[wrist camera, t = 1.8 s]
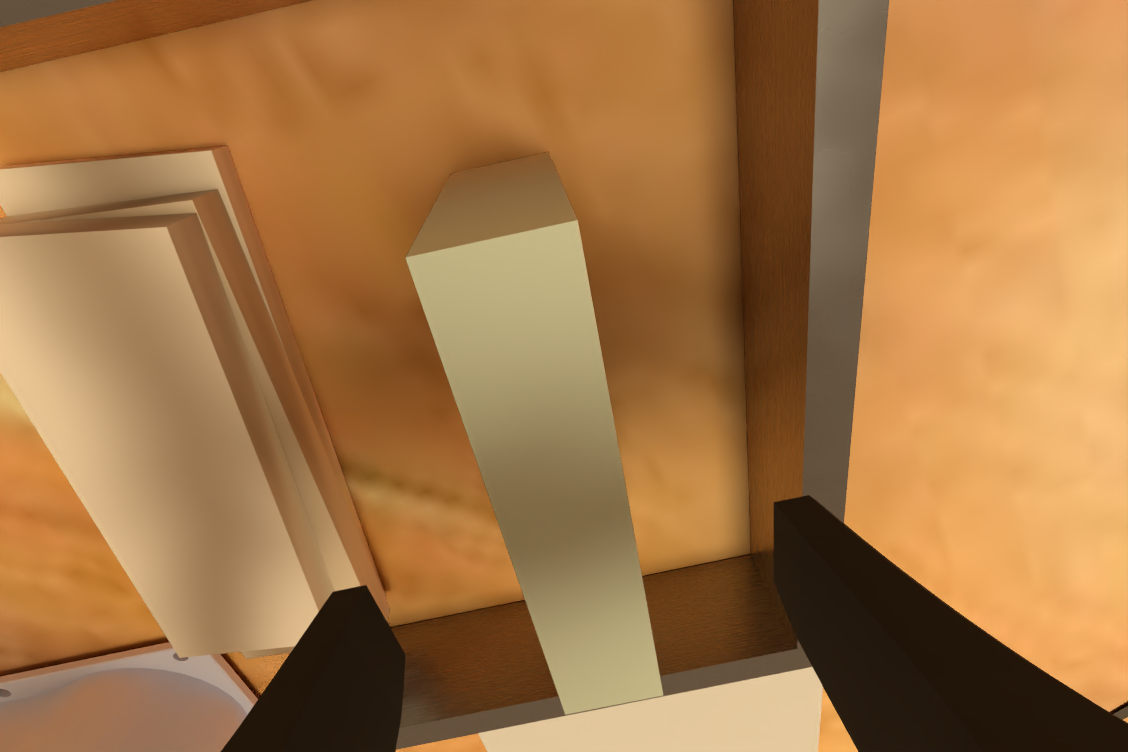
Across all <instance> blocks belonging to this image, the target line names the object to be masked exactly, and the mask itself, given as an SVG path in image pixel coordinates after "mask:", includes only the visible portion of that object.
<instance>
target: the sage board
mask: <svg viewBox="0 0 1128 752" xmlns="http://www.w3.org/2000/svg"><path fill="white" fill-rule="evenodd" d="M405 258H406V261H407V264H408V267H409V270H410V273H411V275H412V278H413V281H414V284H415V287H416V290H417V293H418V295H419V298H420V301H421V304H422V307H423V310H424V313H425V315H426V318H427V321H428V324H429V327H430V330H431V333H432V335H433V338H434V341H435V344H436V347H437V350H438V353H439V355H440V358H441V361H442V364H443V367H444V370H445V373H446V375H447V378H448V381H449V384H450V387H451V390H452V393H453V395H454V398H455V401H456V404H457V407H458V410H459V413H460V415H461V418H462V421H463V424H464V427H465V430H466V433H467V435H468V438H469V441H470V444H471V447H472V450H473V453H474V455H475V458H476V461H477V464H478V467H479V470H480V473H481V475H482V478H483V481H484V484H485V487H486V490H487V493H488V495H489V498H490V501H491V504H492V507H493V510H494V513H495V515H496V518H497V521H498V524H499V527H500V530H501V533H502V535H503V538H504V541H505V544H506V547H507V550H508V553H509V555H510V558H511V561H512V564H513V567H514V570H515V573H516V575H517V578H518V581H519V584H520V587H521V590H522V593H523V595H524V598H525V601H526V604H527V607H528V610H529V613H530V615H531V618H532V621H533V624H534V627H535V630H536V633H537V635H538V638H539V641H540V644H541V647H542V650H543V653H544V655H545V658H546V661H547V664H548V667H549V670H550V673H551V675H552V678H553V681H554V684H555V687H556V690H557V693H558V695H559V698H560V701H561V704H562V707H563V710H564V713H565V715H566V714H572V713H577V712H582V711H587V710H592V709H597V708H602V707H607V706H612V705H617V704H622V703H627V702H633V701H638V700H643V699H648V698H653V697H658V696H663V690H662V685H661V679H660V673H659V668H658V662H657V657H656V651H655V646H654V640H653V635H652V629H651V624H650V618H649V613H648V607H647V601H646V596H645V590H644V585H643V579H642V574H641V568H640V563H639V557H638V552H637V546H636V541H635V535H634V529H633V524H632V518H631V513H630V507H629V502H628V496H627V491H626V485H625V480H624V474H623V468H622V463H621V457H620V452H619V446H618V441H617V435H616V430H615V424H614V419H613V413H612V408H611V402H610V396H609V391H608V385H607V380H606V374H605V369H604V363H603V358H602V352H601V347H600V341H599V335H598V330H597V324H596V319H595V313H594V308H593V302H592V297H591V291H590V286H589V280H588V275H587V269H586V263H585V258H584V252H583V247H582V241H581V236H580V230H579V225H578V220H577V217H576V215H575V213H574V210H573V208H572V206H571V203H570V201H569V199H568V196H567V194H566V191H565V189H564V187H563V184H562V182H561V180H560V177H559V175H558V173H557V170H556V168H555V166H554V163H553V161H552V159H551V156H550V154H549V152H546V153H541V154H537V155H532V156H527V157H523V158H518V159H514V160H509V161H505V162H500V163H496V164H491V165H487V166H482V167H478V168H473V169H469V170H464V171H460V172H455V173H451V174H450V176H449V178H448V180H447V182H446V184H445V185H444V187H443V189H442V191H441V193H440V195H439V196H438V198H437V200H436V202H435V204H434V206H433V207H432V209H431V211H430V213H429V215H428V217H427V219H426V220H425V222H424V224H423V226H422V228H421V230H420V231H419V233H418V235H417V237H416V239H415V241H414V242H413V244H412V246H411V248H410V250H409V252H408V254H407V255H406V257H405Z"/></svg>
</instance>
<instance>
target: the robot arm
mask: <svg viewBox="0 0 1128 752" xmlns="http://www.w3.org/2000/svg"><path fill="white" fill-rule="evenodd" d="M774 584H775V586H776V588H777V591H778V593H779V596H780V598H781V601H782V603H783V606H784V608H785V611H786V613H787V616H788V618H789V620H790V623H791V625H792V627H793V630H794V632H795V634H796V637H797V639H798V641H799V643H800V645H801V647H802V649H803V650H804V652H805V654H806V656H807V658H808V660H809V662H810V663H811V665H812V667H813V669H814V671H815V673H816V675H817V676H818V678H819V680H820V682H821V684H822V686H823V688H824V689H825V691H826V693H827V695H828V697H829V699H830V700H831V702H832V704H833V706H834V708H835V710H836V711H837V713H838V715H839V717H840V719H841V720H842V722H843V724H844V726H845V728H846V730H847V731H848V733H849V735H850V737H851V739H852V741H853V742H854V744H855V746H856V748H857V750H858V752H1128V723H1127V722H1125V721H1123V720H1121V719H1120V718H1118V717H1116V716H1115V715H1113V714H1111V713H1110V712H1108V711H1106V710H1105V709H1103V708H1101V707H1100V706H1098V705H1097V704H1095V703H1093V702H1092V701H1090V700H1089V699H1087V698H1085V697H1084V696H1082V695H1081V694H1079V693H1077V692H1076V691H1074V690H1073V689H1071V688H1069V687H1068V686H1066V685H1065V684H1063V683H1062V682H1060V681H1058V680H1057V679H1055V678H1054V677H1052V676H1050V675H1049V674H1047V673H1046V672H1044V671H1043V670H1041V669H1040V668H1038V667H1037V666H1035V665H1034V664H1032V663H1031V662H1029V661H1028V660H1026V659H1025V658H1023V657H1022V656H1020V655H1019V654H1017V653H1016V652H1014V651H1013V650H1011V649H1010V648H1008V647H1007V646H1005V645H1004V644H1002V643H1001V642H1000V641H998V640H997V639H995V638H994V637H992V636H991V635H990V634H988V633H987V632H985V631H984V630H982V629H981V628H980V627H978V626H977V625H975V624H974V623H972V622H971V621H969V620H968V619H967V618H965V617H964V616H963V615H961V614H960V613H958V612H957V611H956V610H954V609H953V608H952V607H950V606H949V605H947V604H946V603H945V602H943V601H942V600H941V599H939V598H938V597H937V596H935V595H934V594H933V593H931V592H930V591H929V590H927V589H926V588H925V587H923V586H922V585H921V584H920V583H918V582H917V581H916V580H914V579H913V578H912V577H910V576H909V575H908V574H906V573H905V572H904V571H902V570H901V569H900V568H899V567H897V566H896V565H895V564H893V563H892V562H891V561H890V560H888V559H887V558H886V557H885V556H883V555H882V554H881V553H880V552H878V551H877V550H876V549H875V548H873V547H872V546H871V545H870V544H868V543H867V542H866V541H865V540H863V539H862V538H861V537H860V536H859V535H857V534H856V533H855V532H854V531H852V530H851V529H850V528H849V527H848V526H846V525H845V524H844V523H843V522H842V521H840V520H839V519H838V518H837V517H836V516H834V515H833V514H832V513H831V512H830V511H829V510H827V509H826V508H825V507H824V506H823V505H821V504H820V503H819V502H818V501H817V500H815V499H814V498H812V497H811V496H809V495H807V496H802V497H797V498H792V499H787V500H782V501H777V502H774ZM405 657H406V655H405V653H404V651H403V649H402V647H401V646H400V644H399V642H398V640H397V639H396V637H395V635H394V633H393V631H392V630H391V628H390V626H389V624H388V623H387V621H386V619H385V617H384V615H383V614H382V612H381V610H380V608H379V607H378V605H377V603H376V601H375V599H374V598H373V596H372V594H371V592H370V591H369V589H368V587H367V585H363V586H358V587H354V588H349V589H344V590H339V591H334V592H332V593H331V595H330V596H329V598H328V599H327V601H326V602H325V603H324V605H323V606H322V608H321V609H320V611H319V612H318V613H317V615H316V616H315V618H314V619H313V621H312V622H311V624H310V625H309V627H308V628H307V629H306V631H305V632H304V634H303V635H302V637H301V638H300V640H299V641H298V643H297V644H296V646H295V647H294V649H293V650H292V651H291V653H290V654H289V656H288V657H287V659H286V660H285V662H284V663H283V665H282V666H281V668H280V669H279V670H278V672H277V673H276V675H275V676H274V678H273V679H272V681H271V682H270V683H269V685H268V686H267V688H266V689H265V691H264V692H263V693H262V695H261V696H260V698H259V699H257V697H256V696H255V695H254V694H253V693H252V691H251V690H250V689H249V688H248V687H247V686H246V684H245V683H244V682H243V681H242V680H241V678H240V677H239V676H238V675H237V674H236V672H235V671H234V670H233V669H232V668H231V666H230V665H229V664H228V663H227V662H226V661H225V659H224V658H223V657H222V656H221V655H220V654H213V655H204V656H194V657H184V658H179V656H178V655H177V653H176V651H175V650H174V648H173V647H172V645H171V644H170V642H167V643H162V644H157V645H152V646H147V647H143V648H138V649H133V650H128V651H123V652H118V653H113V654H108V655H104V656H99V657H94V658H89V659H84V660H79V661H74V662H69V663H64V664H60V665H55V666H50V667H45V668H40V669H35V670H30V671H25V672H20V673H16V674H11V675H6V676H1V677H0V752H395V750H396V745H397V739H398V734H399V728H400V722H401V715H402V703H403V691H404V674H405Z"/></svg>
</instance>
